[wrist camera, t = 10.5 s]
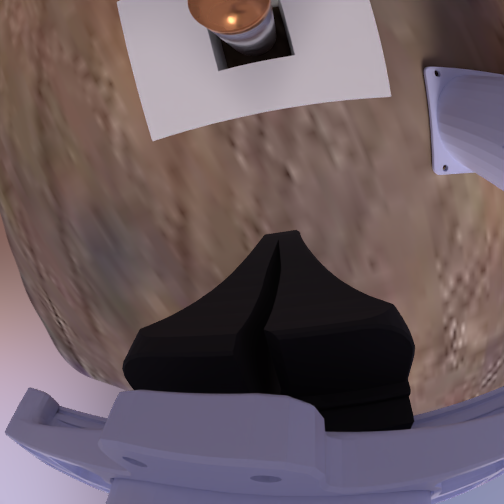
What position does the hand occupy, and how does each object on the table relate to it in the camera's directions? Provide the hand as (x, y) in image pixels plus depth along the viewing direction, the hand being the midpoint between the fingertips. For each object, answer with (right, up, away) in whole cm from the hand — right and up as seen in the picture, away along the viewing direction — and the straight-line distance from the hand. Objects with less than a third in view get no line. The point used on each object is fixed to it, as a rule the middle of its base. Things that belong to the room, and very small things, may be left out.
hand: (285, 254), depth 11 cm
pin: (-1, +14, +4) cm, 14 cm away
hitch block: (-1, +14, +4) cm, 14 cm away
